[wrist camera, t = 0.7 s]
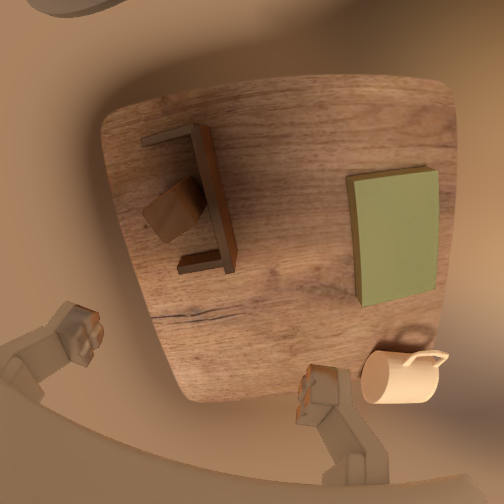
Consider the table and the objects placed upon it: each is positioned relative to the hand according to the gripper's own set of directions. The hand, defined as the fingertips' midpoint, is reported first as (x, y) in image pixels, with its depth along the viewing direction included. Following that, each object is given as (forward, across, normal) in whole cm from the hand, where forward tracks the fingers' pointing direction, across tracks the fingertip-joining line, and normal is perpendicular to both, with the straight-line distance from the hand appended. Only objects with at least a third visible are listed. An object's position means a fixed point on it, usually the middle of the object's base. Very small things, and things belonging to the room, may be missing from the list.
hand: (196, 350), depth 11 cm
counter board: (+27, -17, +6) cm, 33 cm away
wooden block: (+24, +8, +6) cm, 27 cm away
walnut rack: (+24, +8, +6) cm, 26 cm away
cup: (+19, -21, +24) cm, 38 cm away
